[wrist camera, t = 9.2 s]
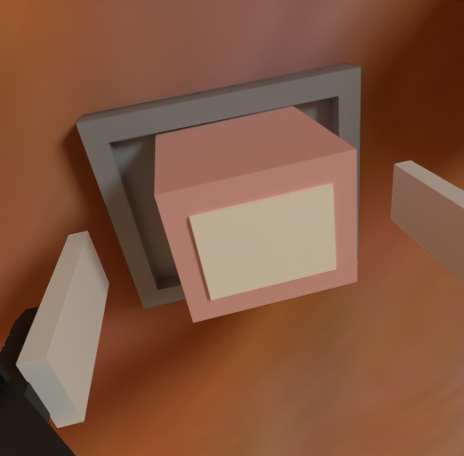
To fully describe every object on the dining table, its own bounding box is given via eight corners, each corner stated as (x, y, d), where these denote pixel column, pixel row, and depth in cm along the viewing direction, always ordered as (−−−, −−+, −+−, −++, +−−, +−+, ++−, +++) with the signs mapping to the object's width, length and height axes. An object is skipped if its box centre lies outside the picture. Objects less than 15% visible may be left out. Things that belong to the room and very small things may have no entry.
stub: (155, 130, 17) (154, 197, 11) (286, 101, 17) (358, 150, 11) (182, 226, 19) (193, 325, 13) (296, 200, 20) (358, 284, 14)
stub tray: (82, 115, 17) (75, 123, 15) (346, 63, 17) (360, 66, 16) (144, 291, 22) (143, 308, 20) (346, 244, 22) (358, 258, 21)
